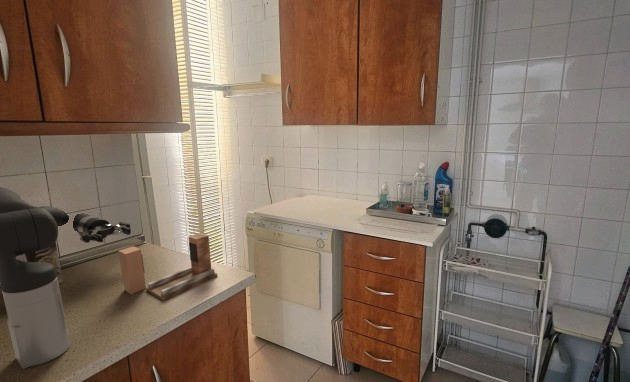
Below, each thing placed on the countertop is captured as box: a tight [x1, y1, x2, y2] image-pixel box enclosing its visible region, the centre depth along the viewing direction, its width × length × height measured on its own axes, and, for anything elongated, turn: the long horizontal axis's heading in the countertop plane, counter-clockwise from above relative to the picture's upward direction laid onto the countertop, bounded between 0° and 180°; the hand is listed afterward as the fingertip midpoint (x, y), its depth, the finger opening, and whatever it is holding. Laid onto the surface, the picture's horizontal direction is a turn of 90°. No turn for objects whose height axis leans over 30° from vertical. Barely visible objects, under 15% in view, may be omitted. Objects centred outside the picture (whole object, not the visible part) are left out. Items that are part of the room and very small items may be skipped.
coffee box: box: [16, 241, 64, 285], centre depth 103 cm, size 9×6×16 cm
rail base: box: [145, 232, 218, 302], centre depth 105 cm, size 19×10×14 cm, turn 143°
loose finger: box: [118, 245, 147, 295], centre depth 102 cm, size 5×4×13 cm
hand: (115, 235), depth 109 cm, fingers open, 8 cm apart
